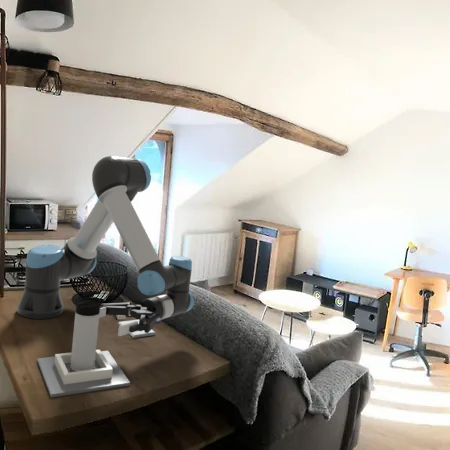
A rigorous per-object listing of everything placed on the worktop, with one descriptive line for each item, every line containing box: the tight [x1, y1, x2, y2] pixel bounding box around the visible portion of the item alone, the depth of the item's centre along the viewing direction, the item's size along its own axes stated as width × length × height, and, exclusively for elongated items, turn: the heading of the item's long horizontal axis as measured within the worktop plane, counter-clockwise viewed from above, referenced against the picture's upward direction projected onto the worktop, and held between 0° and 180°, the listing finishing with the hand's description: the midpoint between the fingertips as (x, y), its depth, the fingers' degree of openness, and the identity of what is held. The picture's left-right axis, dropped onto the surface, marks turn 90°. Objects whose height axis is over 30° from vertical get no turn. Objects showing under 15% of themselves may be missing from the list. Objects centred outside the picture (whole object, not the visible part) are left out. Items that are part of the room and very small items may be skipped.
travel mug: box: [70, 296, 102, 372], centre depth 122 cm, size 6×7×20 cm
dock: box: [36, 349, 131, 398], centre depth 123 cm, size 20×20×3 cm
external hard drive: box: [117, 319, 156, 339], centre depth 158 cm, size 2×8×12 cm
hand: (102, 323), depth 126 cm, fingers open, 13 cm apart
